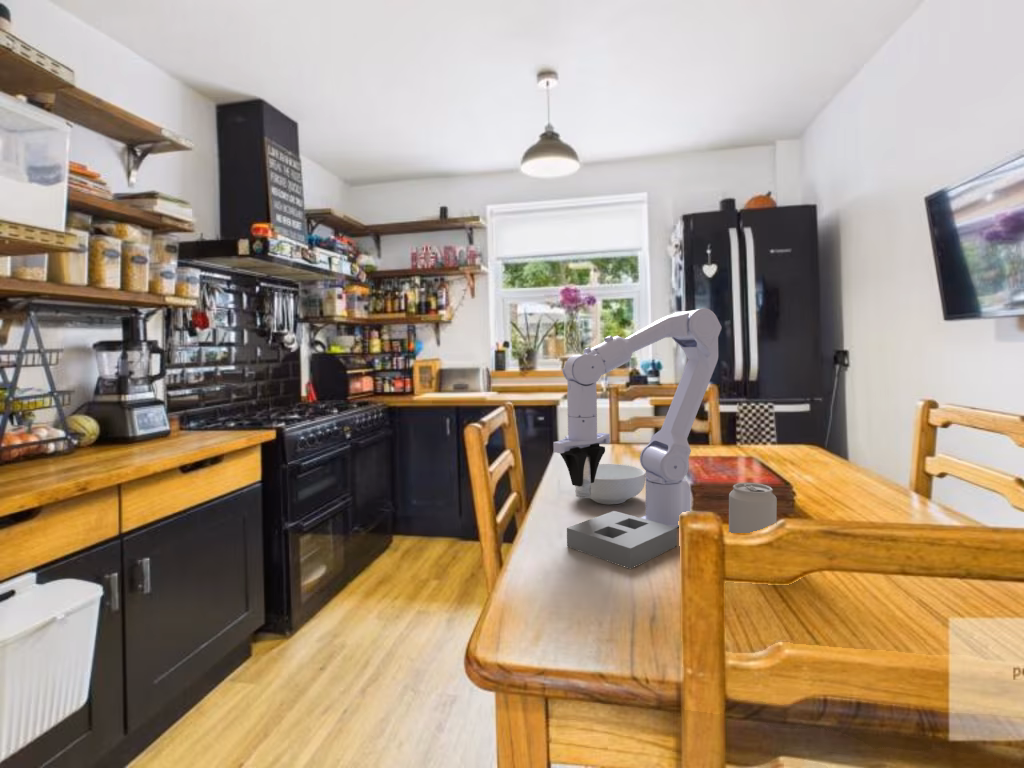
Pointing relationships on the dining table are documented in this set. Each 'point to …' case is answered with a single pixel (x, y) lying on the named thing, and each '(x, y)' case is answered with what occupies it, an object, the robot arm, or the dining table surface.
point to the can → (751, 507)
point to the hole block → (622, 538)
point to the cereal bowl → (616, 483)
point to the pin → (585, 481)
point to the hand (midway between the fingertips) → (583, 483)
